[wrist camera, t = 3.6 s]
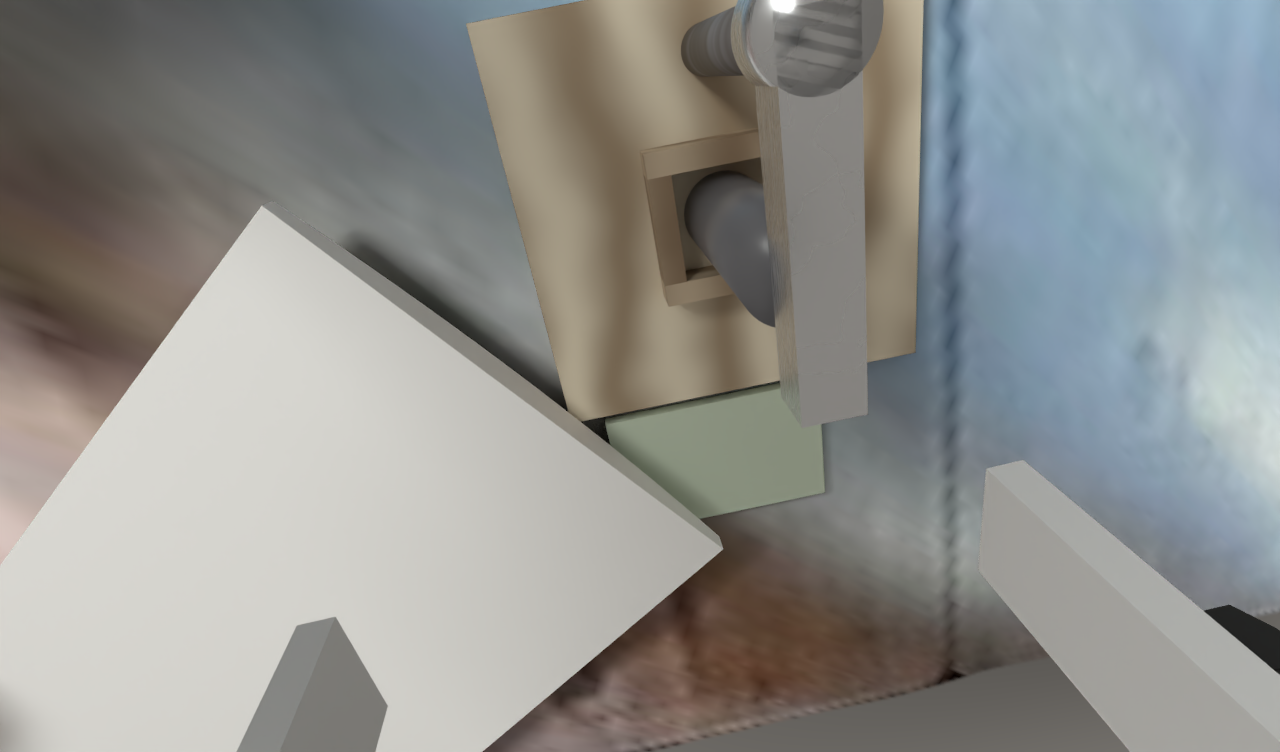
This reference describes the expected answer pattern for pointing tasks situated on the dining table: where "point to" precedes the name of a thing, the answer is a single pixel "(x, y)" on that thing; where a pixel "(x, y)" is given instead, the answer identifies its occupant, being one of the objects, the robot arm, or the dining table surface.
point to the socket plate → (672, 190)
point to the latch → (813, 190)
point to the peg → (734, 236)
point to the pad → (724, 451)
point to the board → (325, 524)
